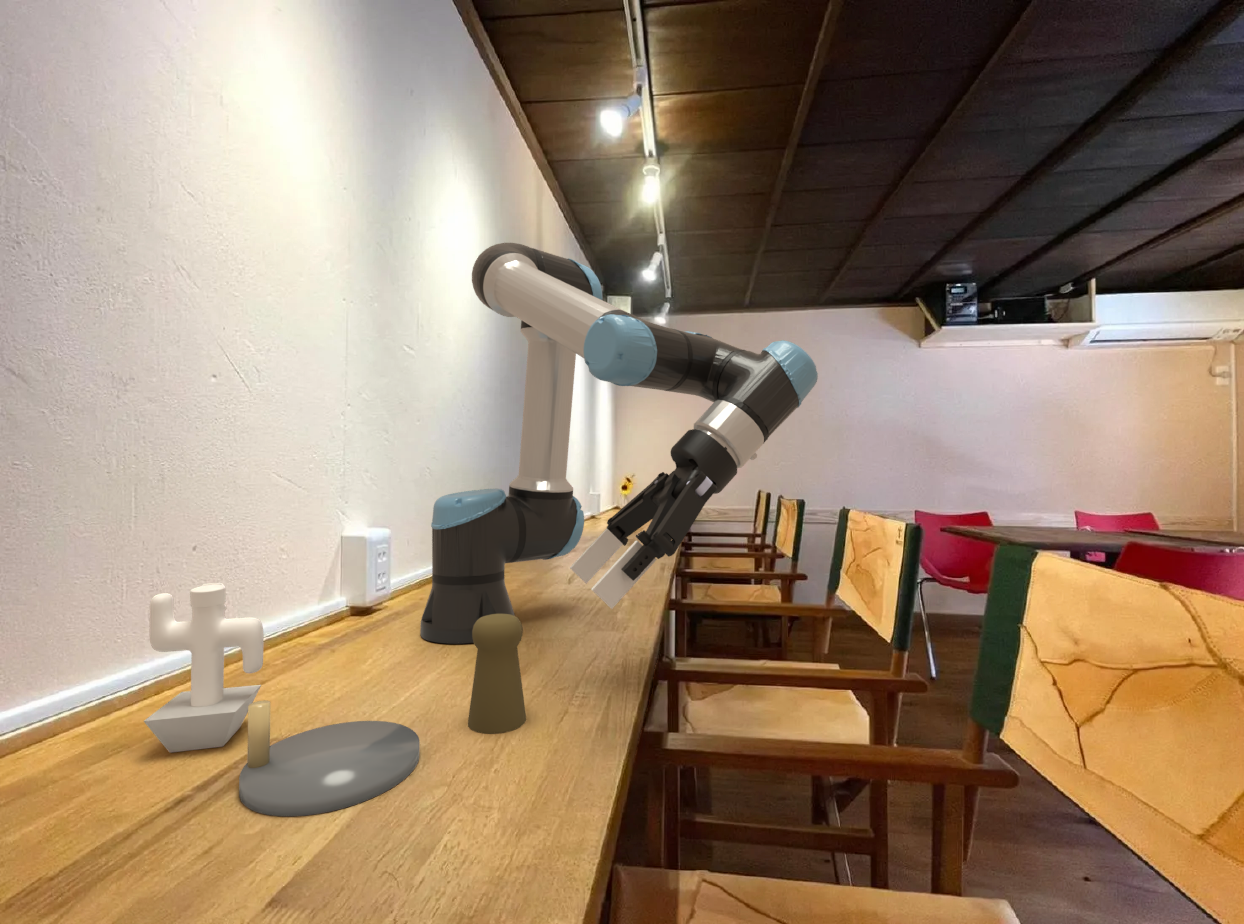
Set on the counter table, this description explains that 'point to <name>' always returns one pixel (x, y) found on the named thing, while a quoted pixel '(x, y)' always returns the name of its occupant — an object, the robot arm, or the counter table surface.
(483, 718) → the brown rounded upright piece
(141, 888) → the counter table surface
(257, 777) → the coaster plate
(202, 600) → the figurine
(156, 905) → the counter table surface
